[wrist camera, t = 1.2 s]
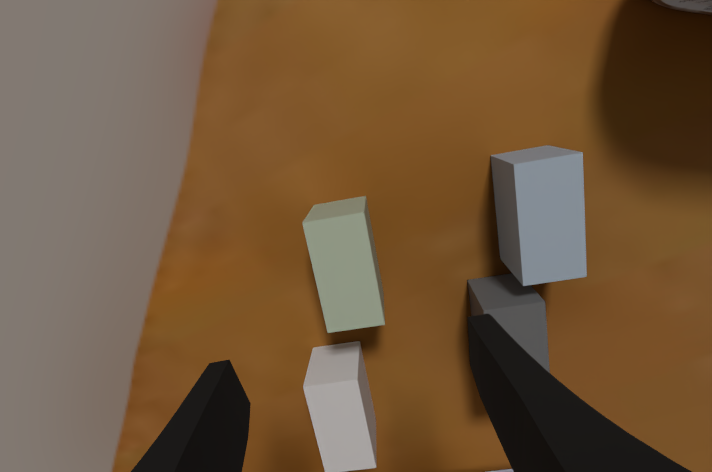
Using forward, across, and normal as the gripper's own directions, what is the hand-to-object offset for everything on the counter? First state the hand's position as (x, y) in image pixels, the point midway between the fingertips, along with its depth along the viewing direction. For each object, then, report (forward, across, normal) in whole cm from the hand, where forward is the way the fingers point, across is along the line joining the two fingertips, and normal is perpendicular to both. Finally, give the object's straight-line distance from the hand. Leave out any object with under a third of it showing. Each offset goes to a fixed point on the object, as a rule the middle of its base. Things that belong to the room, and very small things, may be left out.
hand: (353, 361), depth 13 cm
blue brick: (+11, -10, +2) cm, 15 cm away
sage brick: (+12, 0, +4) cm, 12 cm away
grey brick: (+10, +2, +12) cm, 16 cm away
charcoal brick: (+10, -8, +9) cm, 16 cm away
